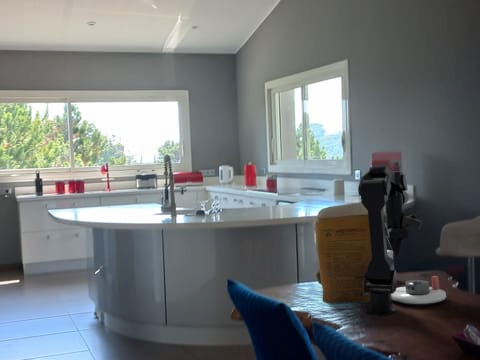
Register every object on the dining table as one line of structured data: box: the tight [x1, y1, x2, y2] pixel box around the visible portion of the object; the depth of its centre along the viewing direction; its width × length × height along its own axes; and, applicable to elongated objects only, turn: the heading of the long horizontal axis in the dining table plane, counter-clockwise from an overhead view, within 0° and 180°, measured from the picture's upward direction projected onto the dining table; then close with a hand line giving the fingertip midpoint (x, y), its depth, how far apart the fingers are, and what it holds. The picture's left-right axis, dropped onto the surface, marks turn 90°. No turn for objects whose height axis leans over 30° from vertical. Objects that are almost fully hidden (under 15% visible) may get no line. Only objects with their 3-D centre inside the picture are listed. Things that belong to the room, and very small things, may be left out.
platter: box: [391, 275, 447, 304], centre depth 177 cm, size 17×17×5 cm
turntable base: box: [399, 302, 438, 307], centre depth 177 cm, size 12×12×1 cm
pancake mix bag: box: [314, 213, 372, 304], centre depth 180 cm, size 7×19×28 cm, turn 84°
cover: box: [404, 279, 430, 295], centre depth 177 cm, size 7×7×4 cm
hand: (396, 255), depth 187 cm, fingers closed
